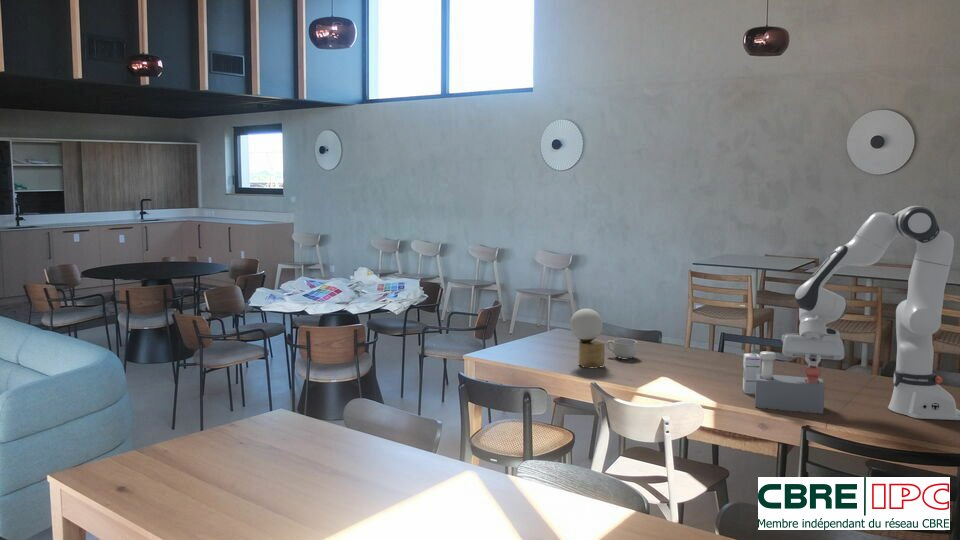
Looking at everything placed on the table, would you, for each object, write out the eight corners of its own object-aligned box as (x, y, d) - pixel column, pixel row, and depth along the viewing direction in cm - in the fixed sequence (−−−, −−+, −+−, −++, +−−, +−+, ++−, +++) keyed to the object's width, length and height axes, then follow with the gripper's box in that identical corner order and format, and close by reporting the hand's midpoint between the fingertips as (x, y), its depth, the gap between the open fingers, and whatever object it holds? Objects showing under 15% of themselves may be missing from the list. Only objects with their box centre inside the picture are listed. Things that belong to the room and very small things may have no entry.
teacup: (640, 357, 349) (640, 340, 348) (631, 361, 340) (631, 344, 339) (611, 353, 356) (612, 336, 356) (602, 357, 347) (602, 340, 346)
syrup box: (760, 394, 287) (761, 356, 285) (743, 393, 288) (745, 356, 286) (757, 390, 292) (759, 353, 291) (741, 389, 294) (743, 352, 292)
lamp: (566, 367, 329) (567, 310, 326) (572, 360, 342) (573, 305, 339) (601, 370, 325) (603, 312, 322) (606, 362, 338) (607, 307, 335)
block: (820, 405, 272) (822, 378, 271) (823, 413, 263) (824, 385, 262) (754, 400, 279) (756, 373, 278) (755, 407, 270) (756, 380, 269)
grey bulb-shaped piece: (773, 390, 275) (775, 352, 273) (774, 393, 270) (775, 355, 268) (758, 388, 276) (760, 351, 275) (758, 392, 271) (760, 354, 270)
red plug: (818, 405, 270) (820, 367, 269) (819, 410, 265) (821, 370, 264) (802, 404, 272) (804, 366, 270) (803, 408, 267) (805, 369, 265)
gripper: (782, 327, 275) (781, 359, 267) (844, 331, 269) (845, 364, 261) (781, 337, 280) (780, 369, 272) (842, 341, 273) (843, 374, 265)
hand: (813, 367), depth 266 cm, fingers closed
